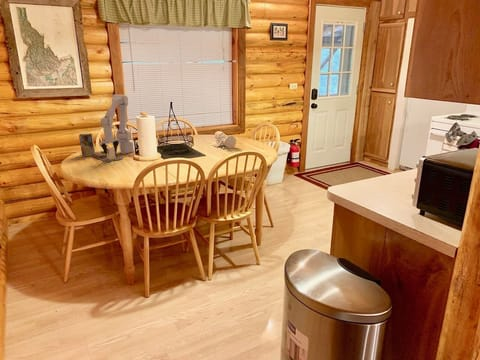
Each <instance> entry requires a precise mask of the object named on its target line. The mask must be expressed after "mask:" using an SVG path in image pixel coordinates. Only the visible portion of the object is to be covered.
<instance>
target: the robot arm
mask: <svg viewBox="0 0 480 360" xmlns="http://www.w3.org/2000/svg"><path fill="white" fill-rule="evenodd" d="M111 101H112V102H111V105H110V108H108V109H107V110H106V112H105V114H104V116H103V117H102V118H101V119H100V124H101V127H102V129H103V135H104V140H102V141H98V144H99V146H101V149H102V151H104V153H105V154H107V148H108V146H107V144H111V143H112V146H113V148H114V149H115V152H117V153H120V154H123V155H125V154H129V153H133V152H135V150H134V144H133V141H132V140H131V139H132V134H131V130H130V129H128V128H127V127H128V124H127V122H128V120H127V118H128V116H127V113H128V111H127V110H128V105H129V97H128V96H127V94H115V93H114V94H113V95H112V97H111ZM118 107H119V128H118V129H117V130H116V135H115V137H116V138H114V135H113V128H112V126H113V123H114V117H115V115H116V110H117V108H118ZM118 146H119V149H120V150H118ZM117 150H118V151H117Z"/></svg>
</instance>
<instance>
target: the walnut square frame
mask: <svg viewBox="0 0 480 360" xmlns="http://www.w3.org/2000/svg"><path fill="white" fill-rule="evenodd" d="M118 155H119V154H118V151H117V152H115V156H118ZM92 157H94V158H96V159H98V160H101V159H103V158H107V155H106V154H105V153H104V150H101V151H95V152H94V153H93V156H92ZM118 157H119V156H118Z"/></svg>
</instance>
